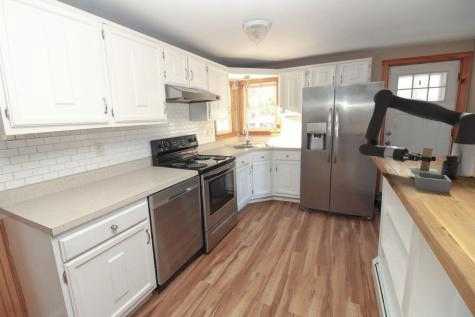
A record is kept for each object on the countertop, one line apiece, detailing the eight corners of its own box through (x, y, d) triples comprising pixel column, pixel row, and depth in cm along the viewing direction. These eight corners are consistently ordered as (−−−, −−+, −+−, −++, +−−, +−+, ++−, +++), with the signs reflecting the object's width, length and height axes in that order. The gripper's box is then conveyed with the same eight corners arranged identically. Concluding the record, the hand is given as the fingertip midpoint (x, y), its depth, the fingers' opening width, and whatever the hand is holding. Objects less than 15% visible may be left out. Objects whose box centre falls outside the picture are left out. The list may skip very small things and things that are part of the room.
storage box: (413, 184, 111) (415, 172, 110) (443, 187, 105) (446, 175, 104) (416, 190, 102) (417, 177, 101) (449, 195, 96) (451, 181, 95)
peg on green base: (409, 170, 123) (413, 146, 121) (436, 173, 118) (440, 148, 115) (411, 174, 114) (415, 149, 112) (440, 178, 108) (444, 151, 106)
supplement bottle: (461, 180, 116) (465, 157, 114) (445, 179, 117) (449, 156, 115) (451, 176, 123) (455, 154, 120) (436, 176, 124) (440, 154, 122)
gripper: (389, 148, 123) (427, 153, 108) (404, 146, 129) (441, 150, 114) (387, 161, 124) (424, 168, 109) (402, 159, 131) (439, 165, 116)
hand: (433, 159), depth 112 cm, fingers closed on peg on green base, 3 cm apart
